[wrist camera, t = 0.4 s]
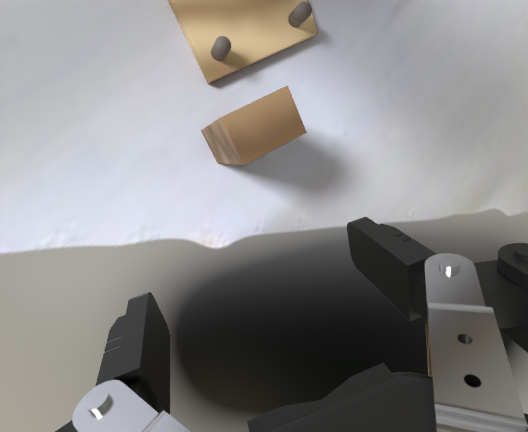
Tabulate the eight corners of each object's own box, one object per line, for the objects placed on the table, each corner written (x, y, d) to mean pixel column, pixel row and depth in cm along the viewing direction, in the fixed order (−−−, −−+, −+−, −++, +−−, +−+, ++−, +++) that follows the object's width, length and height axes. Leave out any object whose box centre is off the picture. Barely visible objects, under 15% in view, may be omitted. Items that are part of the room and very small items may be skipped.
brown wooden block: (201, 130, 36) (221, 117, 24) (247, 107, 37) (287, 85, 25) (217, 163, 37) (244, 165, 25) (262, 140, 38) (306, 132, 27)
